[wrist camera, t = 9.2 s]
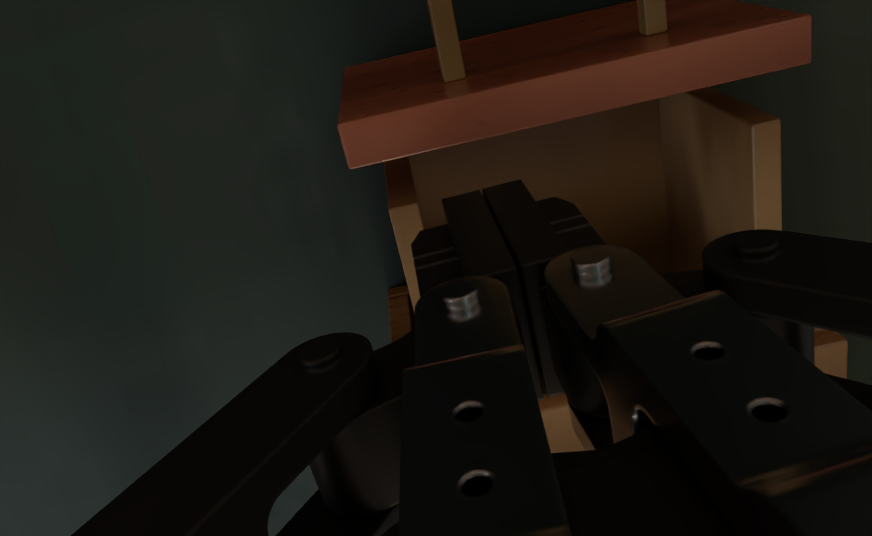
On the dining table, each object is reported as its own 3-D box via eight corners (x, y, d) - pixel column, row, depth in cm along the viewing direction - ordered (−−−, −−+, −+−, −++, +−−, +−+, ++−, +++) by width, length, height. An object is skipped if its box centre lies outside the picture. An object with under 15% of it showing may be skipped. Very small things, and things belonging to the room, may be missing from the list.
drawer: (295, -116, 23) (265, -138, 16) (668, -203, 23) (814, -266, 16) (431, 406, 32) (453, 554, 24) (704, 344, 32) (810, 472, 24)
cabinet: (386, 288, 30) (397, 443, 21) (701, 215, 30) (849, 339, 21) (460, 563, 37) (493, 773, 28) (719, 504, 37) (838, 695, 28)
